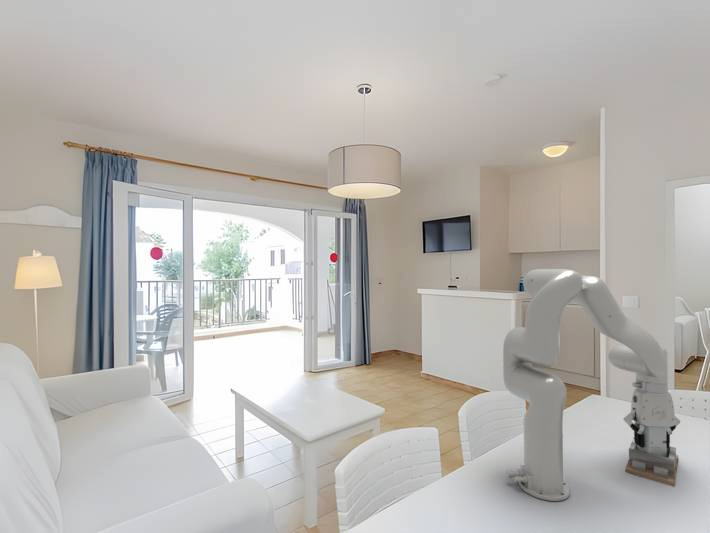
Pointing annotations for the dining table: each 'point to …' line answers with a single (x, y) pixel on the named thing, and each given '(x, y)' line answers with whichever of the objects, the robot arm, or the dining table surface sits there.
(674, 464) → the socket board
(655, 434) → the skincare box
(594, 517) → the dining table surface
